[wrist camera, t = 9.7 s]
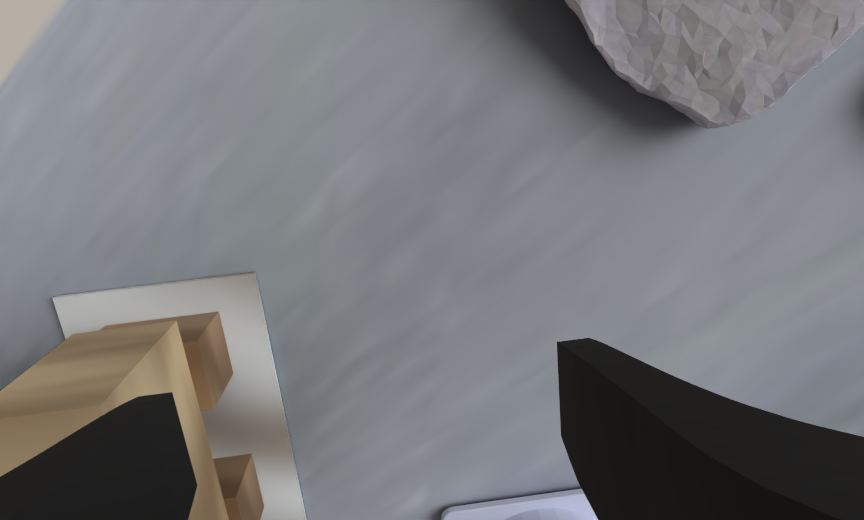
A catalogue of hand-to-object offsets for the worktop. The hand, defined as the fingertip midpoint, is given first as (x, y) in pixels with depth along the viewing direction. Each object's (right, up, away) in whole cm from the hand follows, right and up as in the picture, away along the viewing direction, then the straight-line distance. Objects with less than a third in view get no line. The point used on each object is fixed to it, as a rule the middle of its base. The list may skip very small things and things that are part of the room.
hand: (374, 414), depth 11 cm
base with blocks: (-8, -3, +11) cm, 14 cm away
